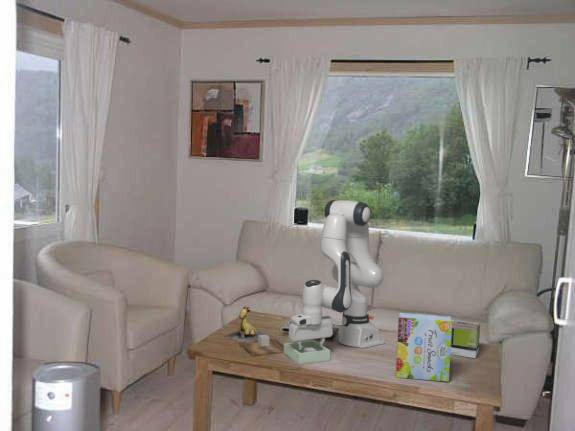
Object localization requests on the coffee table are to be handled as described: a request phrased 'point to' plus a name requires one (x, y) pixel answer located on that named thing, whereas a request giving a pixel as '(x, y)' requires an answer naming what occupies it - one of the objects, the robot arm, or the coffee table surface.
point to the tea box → (465, 338)
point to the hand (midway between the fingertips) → (310, 348)
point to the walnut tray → (262, 347)
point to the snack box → (423, 347)
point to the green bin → (306, 353)
